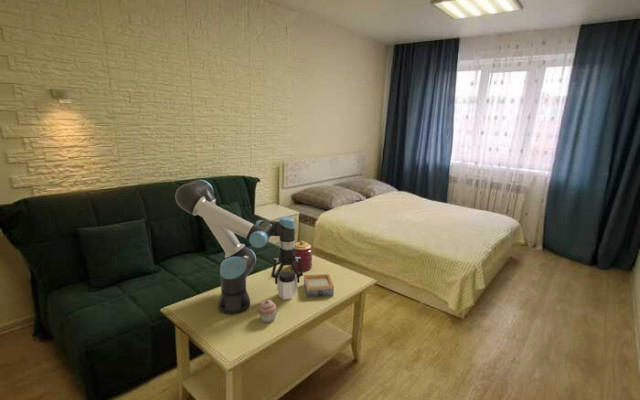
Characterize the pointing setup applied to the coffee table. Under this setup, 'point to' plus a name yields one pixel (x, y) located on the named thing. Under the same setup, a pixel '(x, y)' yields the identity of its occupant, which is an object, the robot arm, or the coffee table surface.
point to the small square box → (318, 285)
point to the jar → (287, 285)
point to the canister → (303, 255)
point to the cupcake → (267, 311)
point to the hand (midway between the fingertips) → (287, 288)
